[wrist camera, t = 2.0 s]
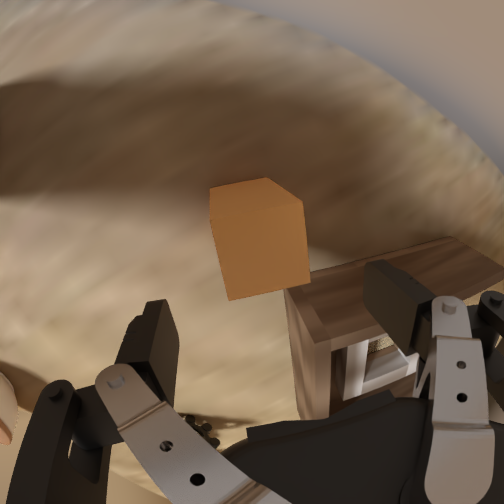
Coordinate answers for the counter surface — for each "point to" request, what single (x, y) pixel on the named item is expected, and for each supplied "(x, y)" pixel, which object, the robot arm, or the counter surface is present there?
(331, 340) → the inlet box
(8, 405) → the lidded jar
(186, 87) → the counter surface
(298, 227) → the orange rectangular block
